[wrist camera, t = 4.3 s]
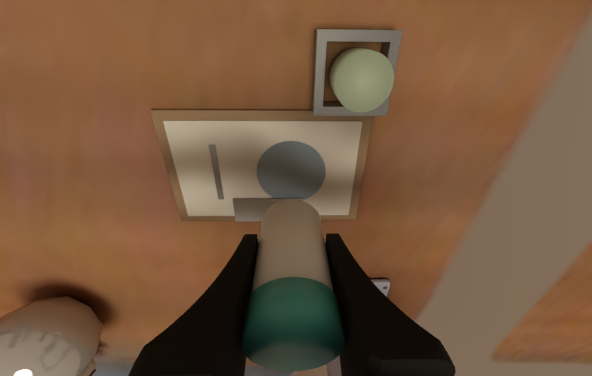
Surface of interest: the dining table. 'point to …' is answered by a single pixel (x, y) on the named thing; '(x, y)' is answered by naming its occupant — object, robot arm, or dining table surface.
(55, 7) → the dining table surface
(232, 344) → the robot arm
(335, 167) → the clipboard
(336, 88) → the button
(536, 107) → the dining table surface
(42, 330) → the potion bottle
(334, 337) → the marker
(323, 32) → the button housing
